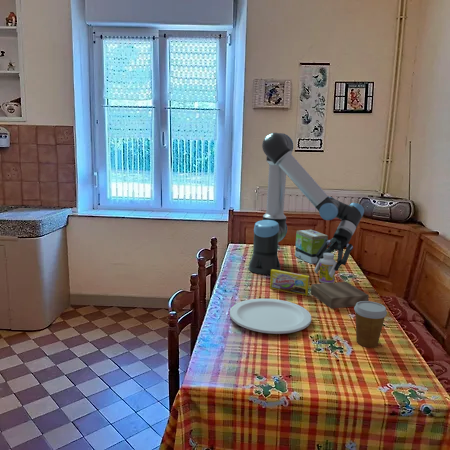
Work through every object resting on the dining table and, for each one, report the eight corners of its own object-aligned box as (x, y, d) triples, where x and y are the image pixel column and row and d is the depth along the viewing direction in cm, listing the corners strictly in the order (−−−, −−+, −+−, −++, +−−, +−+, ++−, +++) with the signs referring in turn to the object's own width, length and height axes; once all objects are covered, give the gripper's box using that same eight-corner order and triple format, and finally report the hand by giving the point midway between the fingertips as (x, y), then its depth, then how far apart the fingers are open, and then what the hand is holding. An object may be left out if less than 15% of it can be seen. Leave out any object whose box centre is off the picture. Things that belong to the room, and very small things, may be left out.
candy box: (269, 288, 174) (270, 270, 173) (271, 287, 176) (272, 268, 174) (306, 296, 167) (308, 276, 165) (308, 294, 169) (309, 275, 167)
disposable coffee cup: (358, 332, 135) (361, 298, 133) (387, 342, 129) (391, 306, 127) (346, 343, 128) (349, 306, 126) (376, 353, 122) (381, 315, 120)
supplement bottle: (316, 279, 187) (318, 252, 185) (329, 278, 189) (331, 251, 187) (323, 284, 181) (325, 256, 179) (336, 283, 183) (339, 255, 180)
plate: (224, 333, 132) (224, 327, 132) (234, 301, 159) (234, 295, 159) (313, 342, 128) (314, 335, 128) (308, 307, 156) (309, 301, 155)
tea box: (294, 256, 225) (295, 230, 222) (309, 255, 230) (311, 228, 227) (310, 264, 212) (312, 236, 209) (326, 262, 216) (328, 234, 213)
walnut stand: (330, 308, 155) (331, 298, 154) (310, 293, 170) (311, 284, 169) (367, 305, 159) (368, 295, 158) (345, 290, 174) (345, 281, 174)
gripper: (366, 241, 186) (345, 283, 177) (328, 233, 199) (306, 273, 191) (362, 231, 181) (340, 274, 173) (323, 224, 194) (301, 264, 186)
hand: (323, 273), depth 182 cm, fingers closed on supplement bottle, 7 cm apart
